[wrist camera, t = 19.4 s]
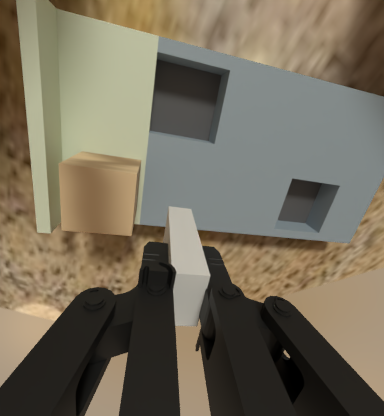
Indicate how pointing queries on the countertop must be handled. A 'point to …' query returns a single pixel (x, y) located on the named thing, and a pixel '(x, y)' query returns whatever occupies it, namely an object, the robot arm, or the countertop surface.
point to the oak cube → (99, 193)
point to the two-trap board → (197, 129)
